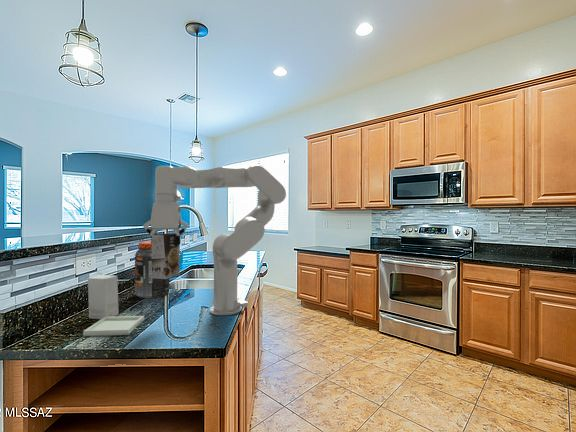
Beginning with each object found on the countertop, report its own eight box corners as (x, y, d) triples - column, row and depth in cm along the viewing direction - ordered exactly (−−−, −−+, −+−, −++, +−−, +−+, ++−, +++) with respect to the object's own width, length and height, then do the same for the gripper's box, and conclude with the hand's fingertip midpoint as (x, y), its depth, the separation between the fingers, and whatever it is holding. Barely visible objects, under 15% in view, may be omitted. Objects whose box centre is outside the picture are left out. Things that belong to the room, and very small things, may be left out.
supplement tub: (134, 292, 156) (134, 241, 155) (167, 289, 163) (167, 240, 163) (135, 300, 142) (135, 244, 141) (171, 296, 149) (171, 242, 149)
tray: (144, 320, 115) (144, 315, 115) (128, 334, 101) (128, 329, 101) (104, 321, 114) (105, 316, 114) (83, 335, 100) (83, 330, 100)
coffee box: (166, 279, 111) (166, 234, 111) (150, 278, 112) (150, 234, 112) (180, 274, 120) (180, 233, 120) (165, 273, 121) (165, 232, 121)
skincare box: (119, 315, 121) (119, 275, 121) (104, 320, 114) (105, 278, 114) (101, 313, 123) (102, 274, 123) (87, 318, 117) (87, 277, 117)
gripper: (192, 200, 120) (191, 245, 120) (145, 199, 119) (145, 245, 119) (187, 199, 113) (187, 247, 113) (138, 198, 111) (137, 247, 111)
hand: (165, 246), depth 116 cm, fingers closed on coffee box, 7 cm apart
